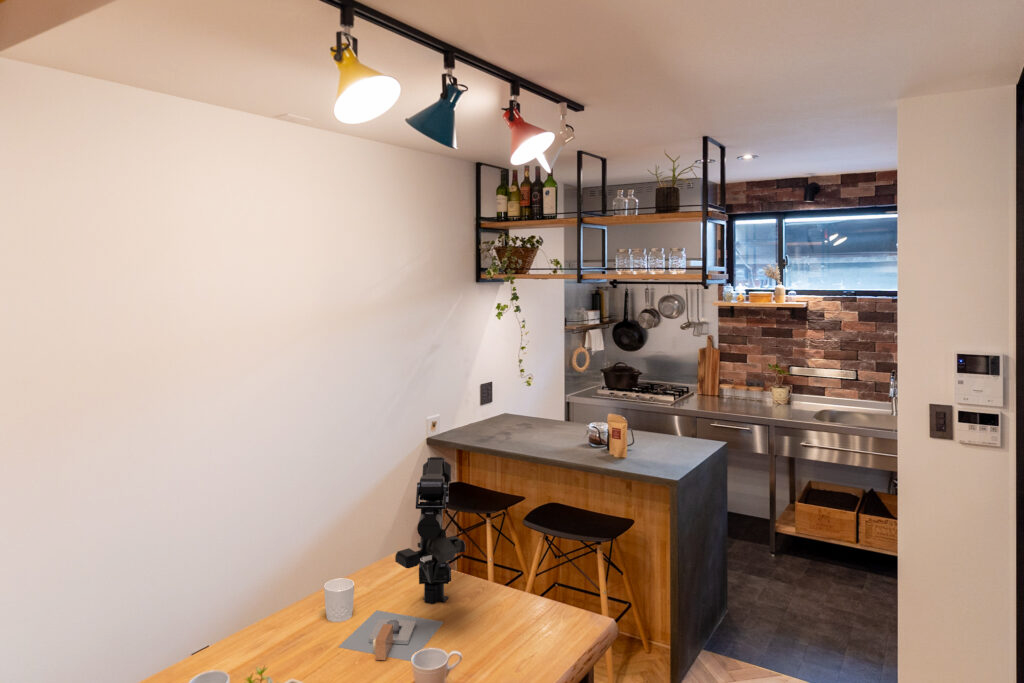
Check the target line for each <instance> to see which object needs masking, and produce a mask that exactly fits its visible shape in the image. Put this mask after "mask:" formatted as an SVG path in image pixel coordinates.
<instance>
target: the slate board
mask: <svg viewBox="0 0 1024 683" xmlns="http://www.w3.org/2000/svg"><path fill="white" fill-rule="evenodd" d="M379 619H389V620H390V621H388V622H387V624H391V625H393V634H399V633H400V630H399V621H397V620H408V621H416V626H415V629H414V631H413V634H412V636H411V638H410V641H409V643H408V645H406V644H393V645H392V647H391V649H390V651H389V653H388V656H387V658H392V659H397V660H402V661H408V662H411V657H412V655H413V654H414V653H415V652H417V651H419V650H421V649H424V648H425V647H426V645H427V644H428V642H430V640H431V639H432V638H433V636H434V635H435V634H436V632H437V631H439V629H440V628H441V627H442V625H443V624H444V622H445V621H441V620H435V619H430V618H424V617H417V616H412V615H406V614H401V613H395V612H388V611H383V610H377V609H376V610H375V611H374V612H373V613H372V614H370V616H369V617H368V618H367V619H366V620H365V621H364V622H362V623H361V624H360V625H359V626H358V627H357V628H356V629H355V630H354V631H353V632H352V633H351V634H350V635H349V636H348V637H347V638H346V639H345V640H344V641H342V643H340V644H339V645H338V648H341V649H345V650H350V651H357V652H361V653H364V654H365V653H366V654H372V655H375V640H376V639H374V640H373V643H371V642H369V637H370V635H371V633H372V631H373V629H374V627H375V625H376V624H377V622H378V620H379ZM421 651H422V650H421Z"/></svg>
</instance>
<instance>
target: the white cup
mask: <svg viewBox="0 0 1024 683" xmlns="http://www.w3.org/2000/svg"><path fill="white" fill-rule="evenodd" d="M323 590H324V605H325V606H324V607H325V614H326V615H325V616H326V619H327V620H328V622H333V623H343V622H346V621H348V620H350V619H351V618H352V617H353V609H354V599H355V598H354V597H355V596H354V595H355V581H354V580H352V579H350V578H345V577H344V578H343V577H341V578H334V579H333V578H332V579H331V580H327V582H325V584H324V586H323Z"/></svg>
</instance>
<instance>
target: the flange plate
mask: <svg viewBox="0 0 1024 683" xmlns="http://www.w3.org/2000/svg"><path fill="white" fill-rule="evenodd" d="M388 621H390V620H389V619H379V620H378V622H377V624H376V625H375V627H374V629H373V631H372V633H371V635H370V637H369V642H371V643H373V640H374V639H376V640H375V654H374V655H375V661H386V660H387V658H388V657H387V656H388V653H389V651H390V649H391V647H392V645H393V644H406V645H408V643H409V641H410V638H411V636H412V634H413V631H414V629H415V626H416V621H408V620H397V621H399V630H400V633H399V634H393V625H391V624H387V622H388Z"/></svg>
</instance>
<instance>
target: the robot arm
mask: <svg viewBox="0 0 1024 683" xmlns="http://www.w3.org/2000/svg"><path fill="white" fill-rule="evenodd" d="M450 483H452V464H450V463H449V462H447V461H446V457H443V456H429V457H427V461H426V462H425V463H424V464H422V476H420V479H419V482H416V497H415V509H416V510H420V514H419V515H420V516H419V519H418V524H417V528H416V530H417V533H418V535H419V537H420V541H419V542H418V543H417V547H418V548H419V549H420V550H419V549H418V550H415V551H414V550H413V549H412V548H409V547H408V548H405V549H402V550H399V551H398V550H397V552H396V553H395V555H394V556H395V557H394V558H395V559H394V560H395V563H397V564H398V565H400V566H402V567H404V568H405V569H411V568H414V567H415V568H416V567H418V584H419V585H423V586H424V587H423V591H424V592H423V598H422V600H423V601H424V604H428V605H434V604H437V603H441V604H445V603H446V602H447V601H448V599H449V596H447V595H445V585H449V583H451V582H452V567H451V566H450V562H448V561H454V559H455V555H457V554H458V555H459V554H461V553H464V552H466V542H465V540H463V539H461V538H459V537H456V536H455V535H451V536H448V537H447V532H446V529H444V528H443V524H444V523H443V521H444V520H443V517H444V510H446V508H447V507H446V506H447V505H449V491H450V490H449V489H450Z"/></svg>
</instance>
